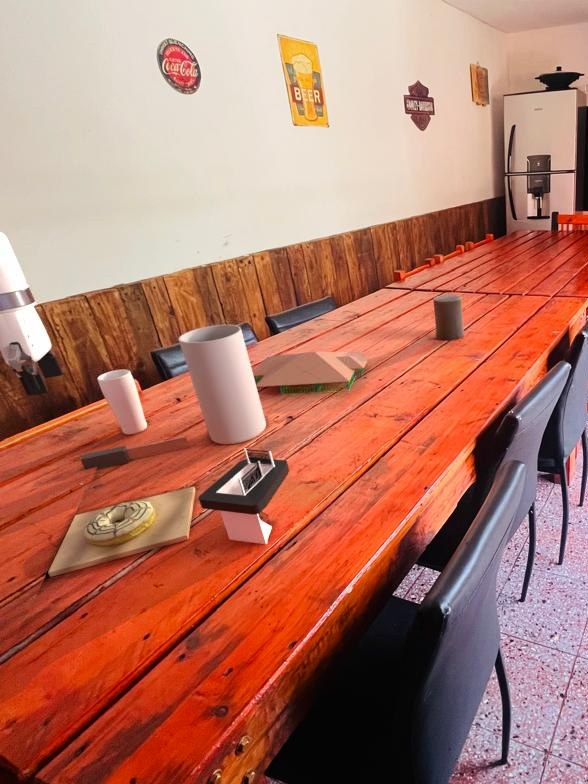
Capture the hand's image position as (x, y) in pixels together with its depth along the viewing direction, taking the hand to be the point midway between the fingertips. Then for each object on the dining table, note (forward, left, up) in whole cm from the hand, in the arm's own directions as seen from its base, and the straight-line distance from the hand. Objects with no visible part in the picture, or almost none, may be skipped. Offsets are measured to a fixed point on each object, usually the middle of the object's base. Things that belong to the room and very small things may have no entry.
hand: (46, 384), depth 102 cm
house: (+51, +28, -20) cm, 62 cm away
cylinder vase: (+31, +2, -20) cm, 37 cm away
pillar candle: (+100, +43, -20) cm, 111 cm away
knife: (+9, 0, -20) cm, 22 cm away
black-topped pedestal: (+35, -38, -21) cm, 56 cm away
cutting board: (+13, -28, -20) cm, 37 cm away
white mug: (+7, +16, -20) cm, 27 cm away
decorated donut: (+12, -28, -20) cm, 37 cm away
